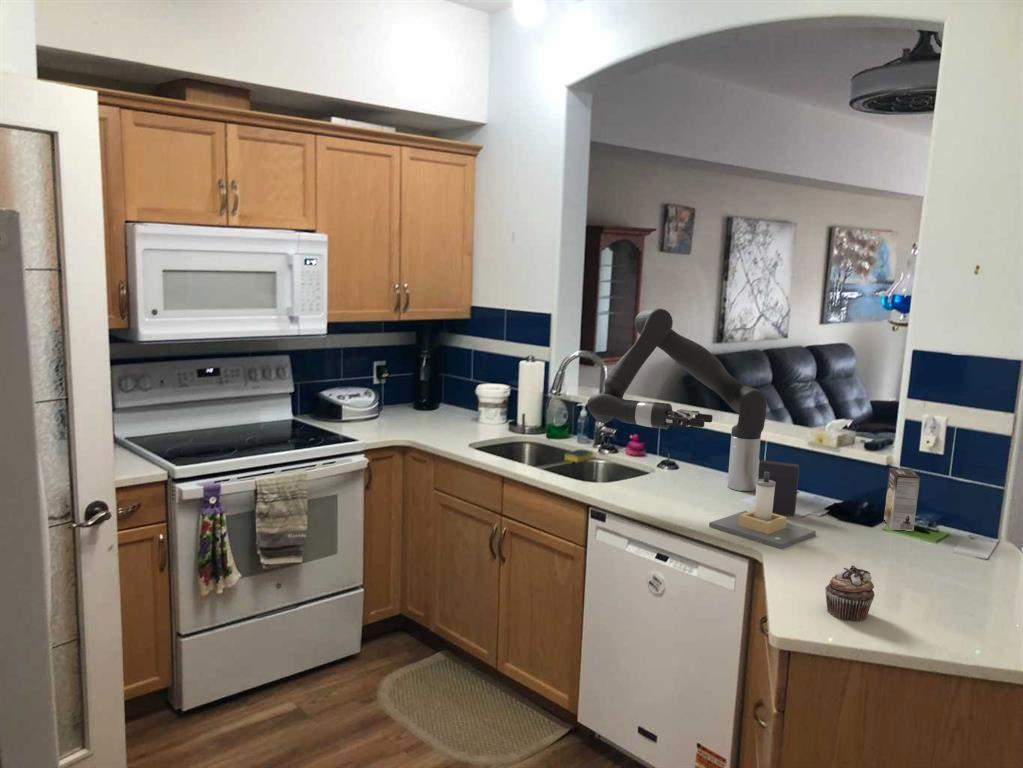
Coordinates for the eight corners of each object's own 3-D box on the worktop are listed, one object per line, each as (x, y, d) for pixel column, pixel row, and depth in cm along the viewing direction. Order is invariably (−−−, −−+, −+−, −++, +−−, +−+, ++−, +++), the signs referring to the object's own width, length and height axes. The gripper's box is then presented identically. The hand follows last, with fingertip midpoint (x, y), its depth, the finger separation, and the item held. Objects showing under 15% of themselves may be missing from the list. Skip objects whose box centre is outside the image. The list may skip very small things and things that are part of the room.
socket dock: (744, 514, 241) (746, 500, 240) (815, 534, 225) (816, 520, 224) (709, 526, 229) (710, 512, 228) (780, 548, 213) (782, 533, 212)
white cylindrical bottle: (758, 522, 230) (763, 468, 228) (774, 527, 227) (780, 473, 224) (748, 525, 227) (753, 471, 224) (764, 530, 223) (770, 475, 221)
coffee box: (882, 520, 240) (888, 467, 237) (906, 522, 239) (912, 468, 236) (890, 530, 231) (896, 475, 228) (915, 532, 230) (921, 477, 227)
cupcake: (835, 600, 181) (839, 557, 180) (879, 615, 174) (884, 570, 173) (814, 612, 175) (818, 567, 173) (859, 627, 168) (864, 581, 166)
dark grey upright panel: (795, 513, 244) (799, 464, 242) (793, 516, 240) (798, 467, 238) (757, 507, 249) (761, 459, 247) (755, 511, 245) (759, 462, 243)
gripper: (646, 405, 235) (702, 412, 228) (661, 398, 248) (715, 404, 240) (644, 431, 236) (700, 438, 229) (660, 423, 249) (713, 429, 241)
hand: (708, 421), depth 234 cm, fingers open, 8 cm apart
